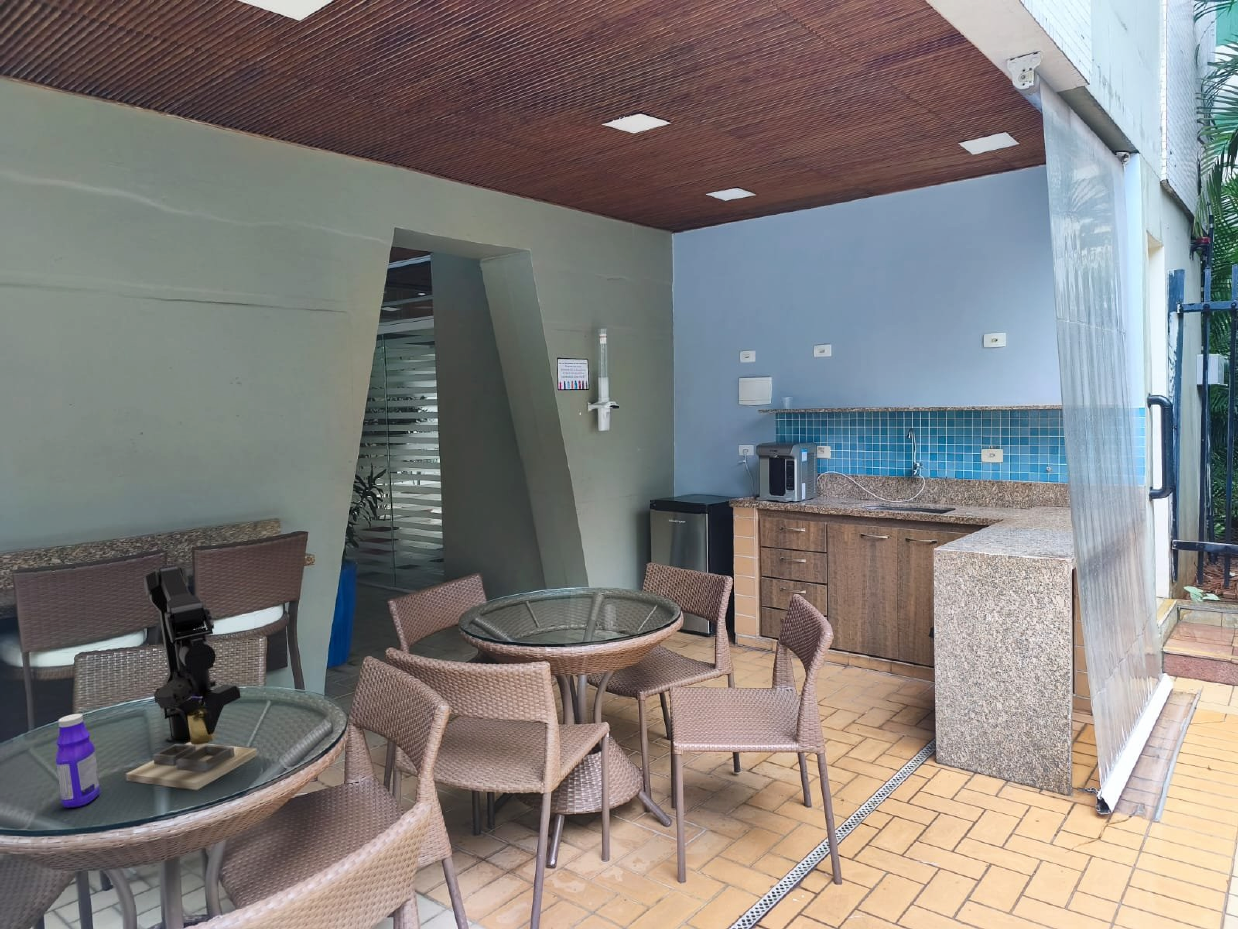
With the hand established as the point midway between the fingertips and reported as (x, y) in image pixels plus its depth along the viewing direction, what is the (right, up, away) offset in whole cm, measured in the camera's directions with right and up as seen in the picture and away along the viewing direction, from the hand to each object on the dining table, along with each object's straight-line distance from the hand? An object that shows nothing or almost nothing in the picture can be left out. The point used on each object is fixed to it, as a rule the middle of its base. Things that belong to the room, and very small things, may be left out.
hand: (202, 733), depth 177 cm
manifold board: (-3, -8, +2) cm, 9 cm away
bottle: (-19, -11, -9) cm, 24 cm away
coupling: (0, -2, 0) cm, 2 cm away
